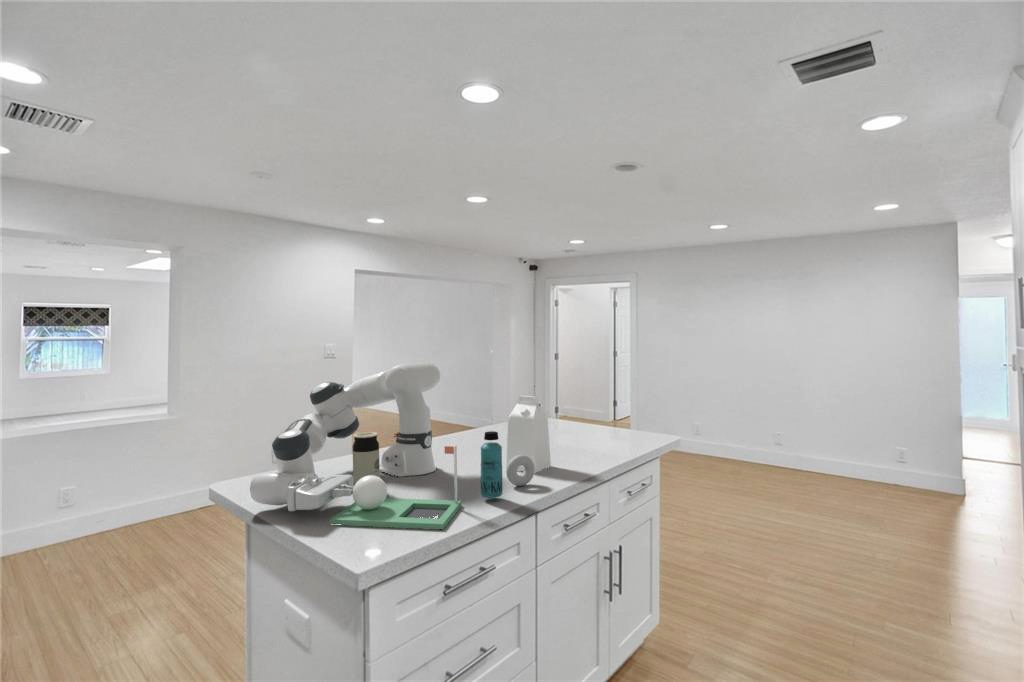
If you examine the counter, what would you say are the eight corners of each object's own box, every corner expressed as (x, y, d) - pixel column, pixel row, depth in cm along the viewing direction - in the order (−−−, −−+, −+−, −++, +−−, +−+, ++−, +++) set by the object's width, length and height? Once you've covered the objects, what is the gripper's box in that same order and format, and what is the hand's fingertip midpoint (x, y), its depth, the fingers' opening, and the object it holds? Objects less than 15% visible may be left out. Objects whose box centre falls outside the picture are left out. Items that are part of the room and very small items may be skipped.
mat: (330, 525, 130) (329, 457, 130) (362, 502, 148) (360, 442, 148) (442, 530, 126) (441, 459, 125) (461, 506, 143) (460, 444, 143)
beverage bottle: (480, 497, 151) (479, 430, 151) (502, 495, 152) (501, 429, 152) (481, 504, 145) (479, 434, 145) (504, 503, 145) (502, 433, 145)
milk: (550, 466, 186) (549, 395, 185) (535, 473, 176) (533, 398, 176) (522, 462, 192) (521, 393, 192) (506, 469, 182) (504, 397, 182)
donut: (509, 489, 158) (509, 457, 158) (504, 487, 161) (503, 455, 161) (537, 484, 163) (536, 453, 163) (531, 482, 166) (531, 451, 166)
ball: (343, 506, 137) (347, 475, 136) (367, 498, 144) (372, 467, 144) (367, 519, 132) (372, 486, 131) (391, 509, 140) (396, 478, 139)
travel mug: (348, 493, 157) (346, 435, 157) (364, 486, 164) (362, 431, 164) (369, 496, 154) (368, 437, 154) (384, 488, 161) (383, 432, 161)
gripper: (326, 489, 151) (370, 491, 148) (284, 513, 130) (334, 515, 128) (325, 468, 151) (369, 469, 148) (284, 489, 130) (334, 490, 128)
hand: (353, 491), depth 138 cm, fingers closed
